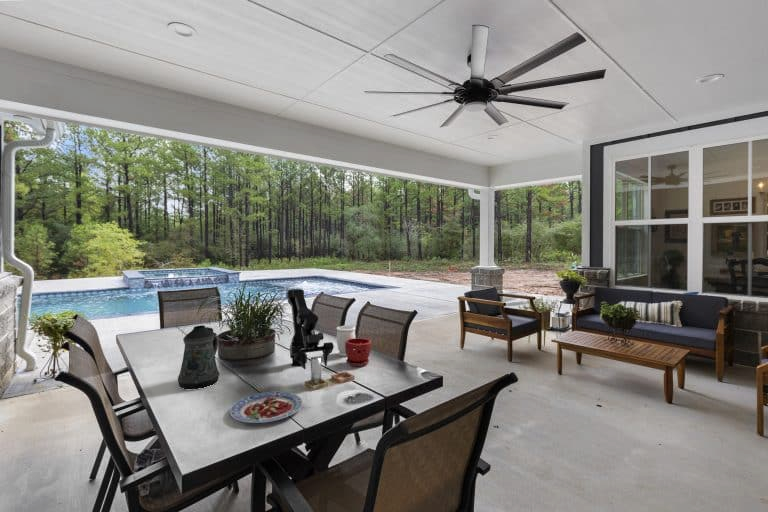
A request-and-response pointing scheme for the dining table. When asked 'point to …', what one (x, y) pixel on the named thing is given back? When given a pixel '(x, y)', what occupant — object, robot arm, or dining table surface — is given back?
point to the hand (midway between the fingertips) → (315, 367)
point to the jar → (344, 337)
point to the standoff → (315, 371)
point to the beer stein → (199, 359)
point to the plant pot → (357, 351)
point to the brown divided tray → (330, 381)
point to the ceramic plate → (266, 407)
